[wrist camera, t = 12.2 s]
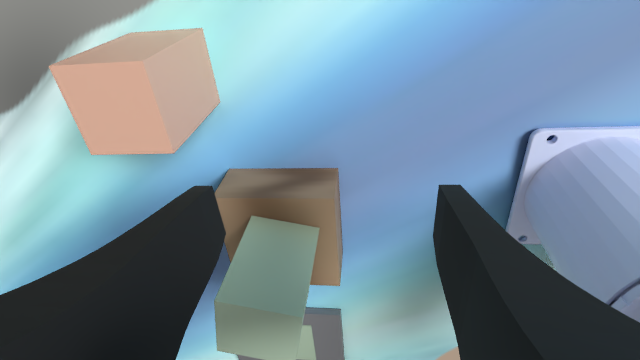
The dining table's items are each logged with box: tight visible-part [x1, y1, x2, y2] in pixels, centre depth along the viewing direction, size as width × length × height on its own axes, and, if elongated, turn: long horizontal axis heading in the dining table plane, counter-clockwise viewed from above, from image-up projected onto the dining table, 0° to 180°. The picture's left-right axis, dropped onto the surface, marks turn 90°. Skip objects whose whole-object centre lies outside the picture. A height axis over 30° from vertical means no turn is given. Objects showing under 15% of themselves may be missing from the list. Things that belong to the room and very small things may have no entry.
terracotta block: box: [49, 28, 220, 155], centre depth 18 cm, size 4×4×6 cm
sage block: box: [214, 216, 320, 360], centre depth 20 cm, size 4×4×6 cm
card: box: [238, 308, 345, 360], centre depth 32 cm, size 10×8×1 cm
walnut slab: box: [214, 168, 343, 286], centre depth 24 cm, size 7×7×4 cm
